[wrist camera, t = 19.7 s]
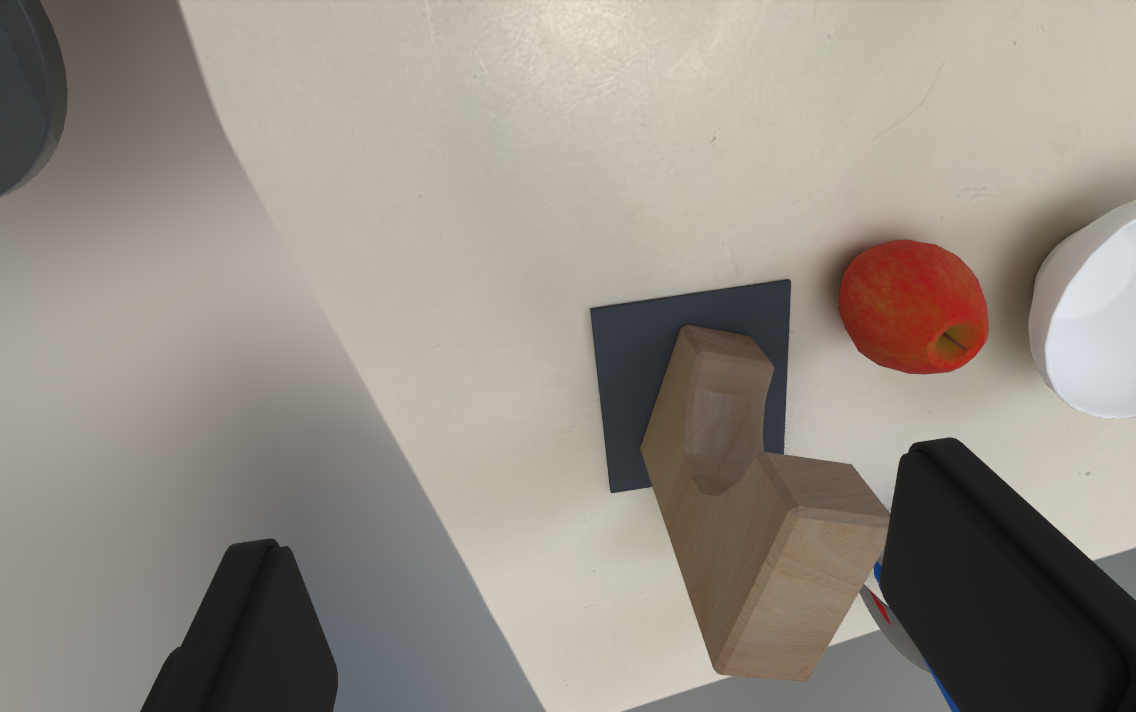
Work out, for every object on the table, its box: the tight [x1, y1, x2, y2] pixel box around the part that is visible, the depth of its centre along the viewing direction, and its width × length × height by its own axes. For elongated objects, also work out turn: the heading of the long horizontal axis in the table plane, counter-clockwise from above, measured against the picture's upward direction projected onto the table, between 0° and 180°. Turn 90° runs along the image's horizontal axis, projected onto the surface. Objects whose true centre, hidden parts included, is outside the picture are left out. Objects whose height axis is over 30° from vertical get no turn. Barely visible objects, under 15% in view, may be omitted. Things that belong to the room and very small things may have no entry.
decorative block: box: [640, 324, 890, 681], centre depth 41 cm, size 11×6×20 cm, turn 165°
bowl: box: [1028, 200, 1136, 419], centre depth 46 cm, size 16×16×7 cm
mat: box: [590, 279, 791, 493], centre depth 50 cm, size 14×16×1 cm
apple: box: [838, 240, 989, 374], centre depth 43 cm, size 8×8×11 cm
